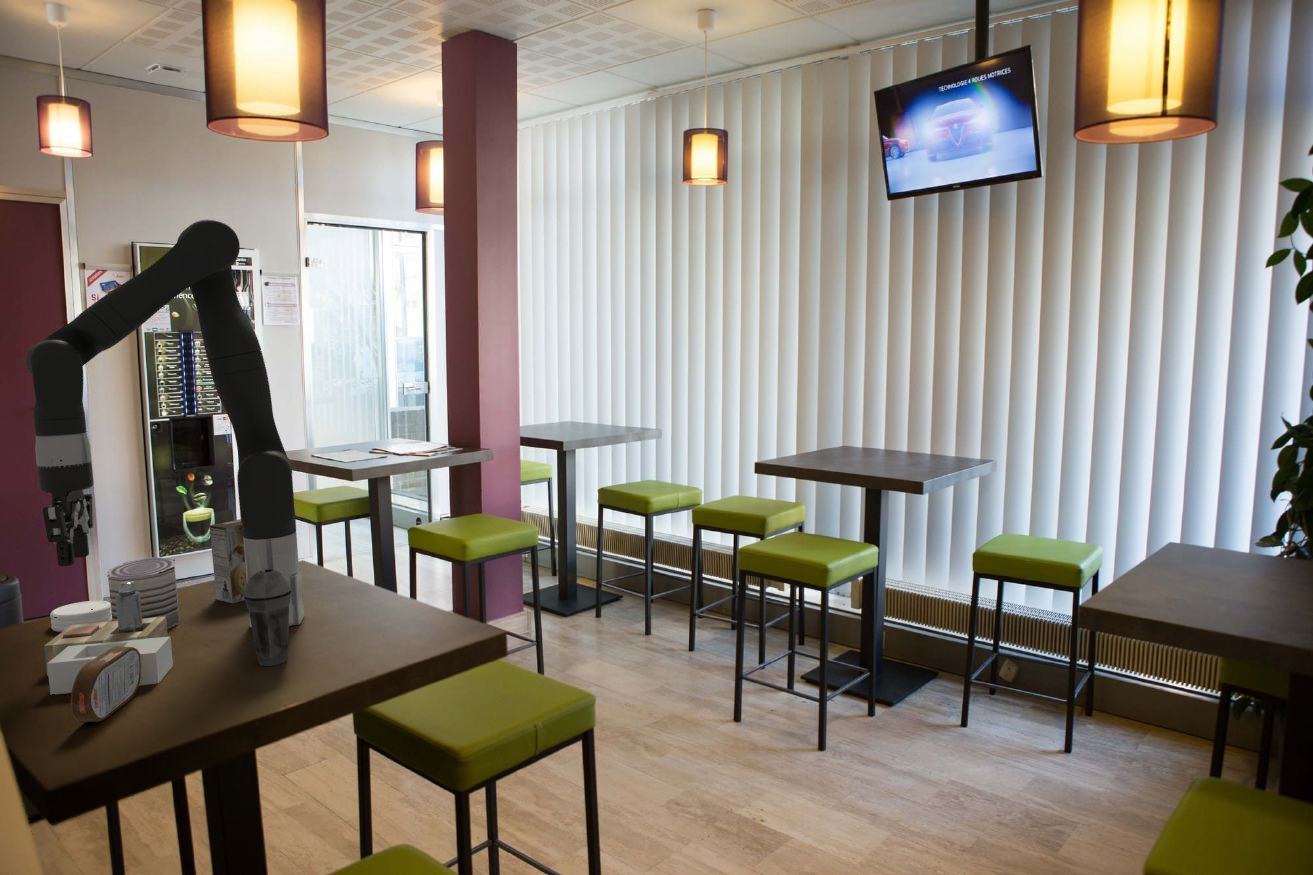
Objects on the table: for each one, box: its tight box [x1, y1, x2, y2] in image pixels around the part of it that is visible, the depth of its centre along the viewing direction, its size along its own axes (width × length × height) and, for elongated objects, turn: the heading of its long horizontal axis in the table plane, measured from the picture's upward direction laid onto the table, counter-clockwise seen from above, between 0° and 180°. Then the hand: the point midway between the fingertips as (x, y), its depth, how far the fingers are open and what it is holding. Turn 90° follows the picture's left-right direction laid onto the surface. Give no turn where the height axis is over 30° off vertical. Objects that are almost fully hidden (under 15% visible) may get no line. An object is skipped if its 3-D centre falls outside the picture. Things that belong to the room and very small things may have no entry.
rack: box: [47, 636, 174, 696], centre depth 140 cm, size 15×8×5 cm, turn 104°
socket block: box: [43, 617, 169, 677], centre depth 150 cm, size 15×11×5 cm
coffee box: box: [209, 518, 247, 604], centre depth 186 cm, size 9×6×16 cm
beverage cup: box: [244, 545, 292, 667], centre depth 146 cm, size 7×7×20 cm
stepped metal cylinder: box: [115, 581, 143, 634], centre depth 150 cm, size 4×4×13 cm
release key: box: [63, 625, 99, 638], centre depth 149 cm, size 4×4×4 cm
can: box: [106, 557, 180, 630], centre depth 167 cm, size 11×11×12 cm
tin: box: [70, 646, 141, 724], centre depth 128 cm, size 15×3×8 cm, turn 5°
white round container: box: [49, 600, 112, 633], centre depth 170 cm, size 10×10×4 cm
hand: (74, 560), depth 147 cm, fingers open, 5 cm apart
